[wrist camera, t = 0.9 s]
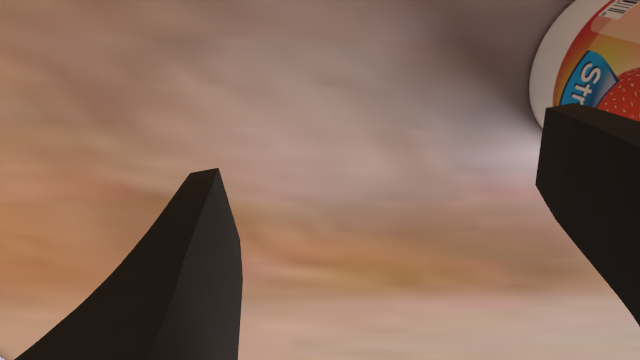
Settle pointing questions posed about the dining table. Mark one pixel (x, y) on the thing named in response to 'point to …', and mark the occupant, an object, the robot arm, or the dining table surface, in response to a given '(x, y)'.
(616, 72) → the fruit juice
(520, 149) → the dining table surface
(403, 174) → the dining table surface
